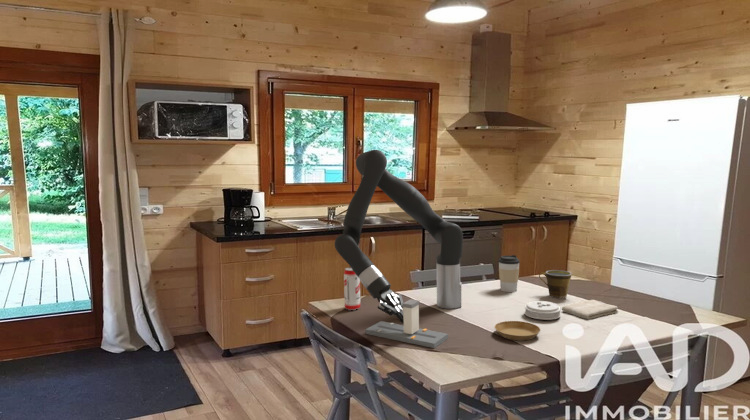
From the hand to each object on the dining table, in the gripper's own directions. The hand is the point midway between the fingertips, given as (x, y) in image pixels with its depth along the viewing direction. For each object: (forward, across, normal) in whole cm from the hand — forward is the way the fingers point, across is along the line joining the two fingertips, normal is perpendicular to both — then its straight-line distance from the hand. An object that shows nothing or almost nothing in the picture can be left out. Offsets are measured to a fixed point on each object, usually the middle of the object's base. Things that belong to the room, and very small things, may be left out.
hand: (406, 321), depth 176 cm
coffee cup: (+12, +71, -4) cm, 72 cm away
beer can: (-20, +16, +27) cm, 37 cm away
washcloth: (+38, +57, -30) cm, 74 cm away
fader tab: (+3, 0, +1) cm, 3 cm away
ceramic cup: (+25, +71, -18) cm, 78 cm away
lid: (+27, +43, -20) cm, 55 cm away
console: (+3, 0, +3) cm, 5 cm away
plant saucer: (+26, +20, -18) cm, 37 cm away
